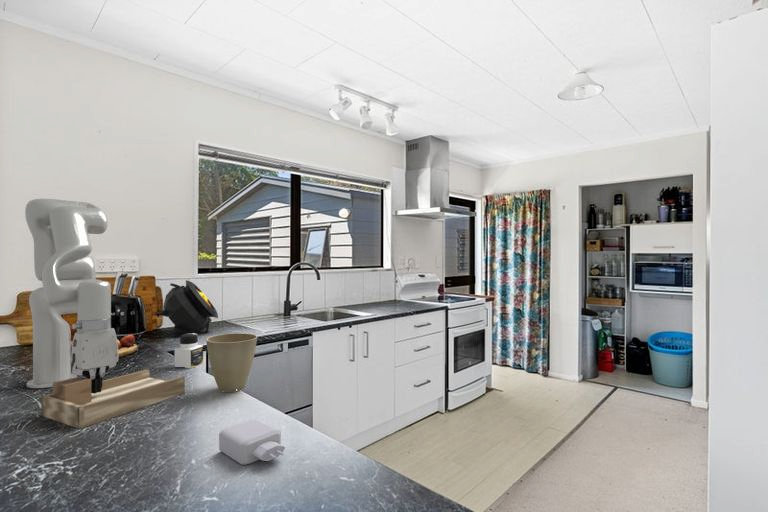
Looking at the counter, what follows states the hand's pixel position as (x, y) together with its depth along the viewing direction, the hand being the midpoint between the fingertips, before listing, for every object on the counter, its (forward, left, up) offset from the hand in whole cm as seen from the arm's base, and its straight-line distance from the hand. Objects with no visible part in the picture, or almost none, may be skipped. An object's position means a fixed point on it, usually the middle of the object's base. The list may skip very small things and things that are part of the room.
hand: (94, 392), depth 111 cm
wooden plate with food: (-65, +33, -5) cm, 73 cm away
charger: (+61, -1, -4) cm, 61 cm away
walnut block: (+1, -6, -1) cm, 6 cm away
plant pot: (+23, +27, -4) cm, 36 cm away
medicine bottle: (-13, +39, -4) cm, 42 cm away
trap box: (+4, +4, -4) cm, 7 cm away
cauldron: (-71, +82, -4) cm, 109 cm away
